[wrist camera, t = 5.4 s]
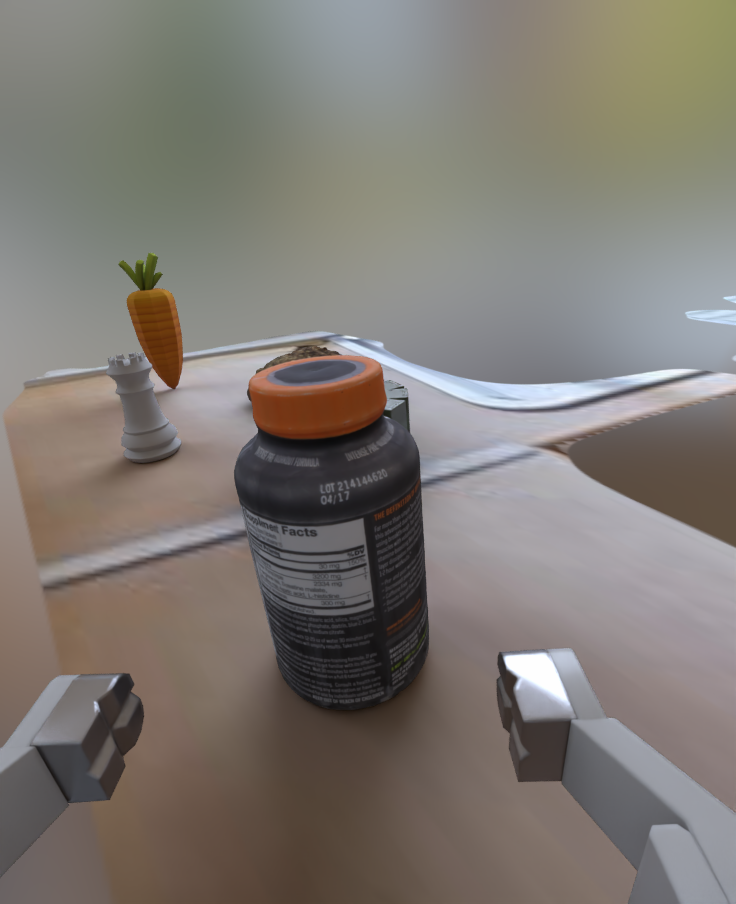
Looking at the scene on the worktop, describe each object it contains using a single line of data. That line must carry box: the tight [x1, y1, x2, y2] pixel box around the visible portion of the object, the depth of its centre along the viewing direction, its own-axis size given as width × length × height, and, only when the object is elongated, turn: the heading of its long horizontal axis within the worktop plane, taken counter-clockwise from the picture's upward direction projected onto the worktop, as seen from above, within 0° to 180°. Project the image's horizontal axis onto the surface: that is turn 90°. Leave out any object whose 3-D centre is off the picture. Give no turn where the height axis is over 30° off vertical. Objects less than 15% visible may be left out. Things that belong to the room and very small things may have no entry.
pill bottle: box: [234, 355, 429, 710], centre depth 16 cm, size 6×6×11 cm
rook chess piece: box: [106, 353, 181, 463], centre depth 37 cm, size 4×4×8 cm
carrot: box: [119, 253, 183, 389], centre depth 54 cm, size 5×5×15 cm
